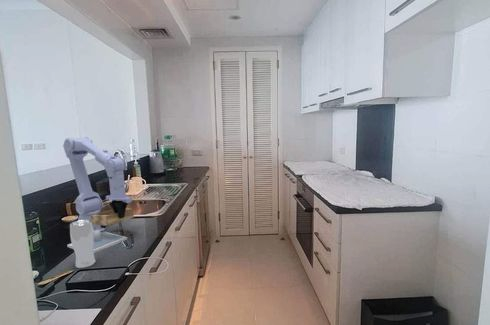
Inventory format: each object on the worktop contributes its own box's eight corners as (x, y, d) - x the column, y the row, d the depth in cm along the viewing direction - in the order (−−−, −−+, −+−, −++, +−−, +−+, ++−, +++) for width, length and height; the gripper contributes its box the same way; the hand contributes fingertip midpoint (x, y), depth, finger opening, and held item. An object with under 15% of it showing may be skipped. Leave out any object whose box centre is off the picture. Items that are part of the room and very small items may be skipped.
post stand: (67, 247, 110) (65, 234, 109) (104, 233, 123) (103, 221, 123) (90, 254, 102) (88, 240, 101) (127, 239, 115) (126, 226, 115)
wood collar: (92, 224, 117) (90, 215, 117) (117, 216, 128) (115, 208, 127) (109, 225, 111) (107, 216, 111) (133, 217, 122) (132, 208, 121)
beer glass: (101, 260, 96) (97, 219, 95) (84, 270, 90) (79, 226, 88) (86, 258, 99) (82, 218, 97) (69, 267, 92) (64, 225, 91)
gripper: (98, 187, 115) (101, 218, 117) (119, 189, 108) (123, 222, 110) (113, 184, 121) (116, 213, 123) (134, 186, 114) (137, 217, 116)
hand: (120, 217), depth 117 cm, fingers closed on wood collar
